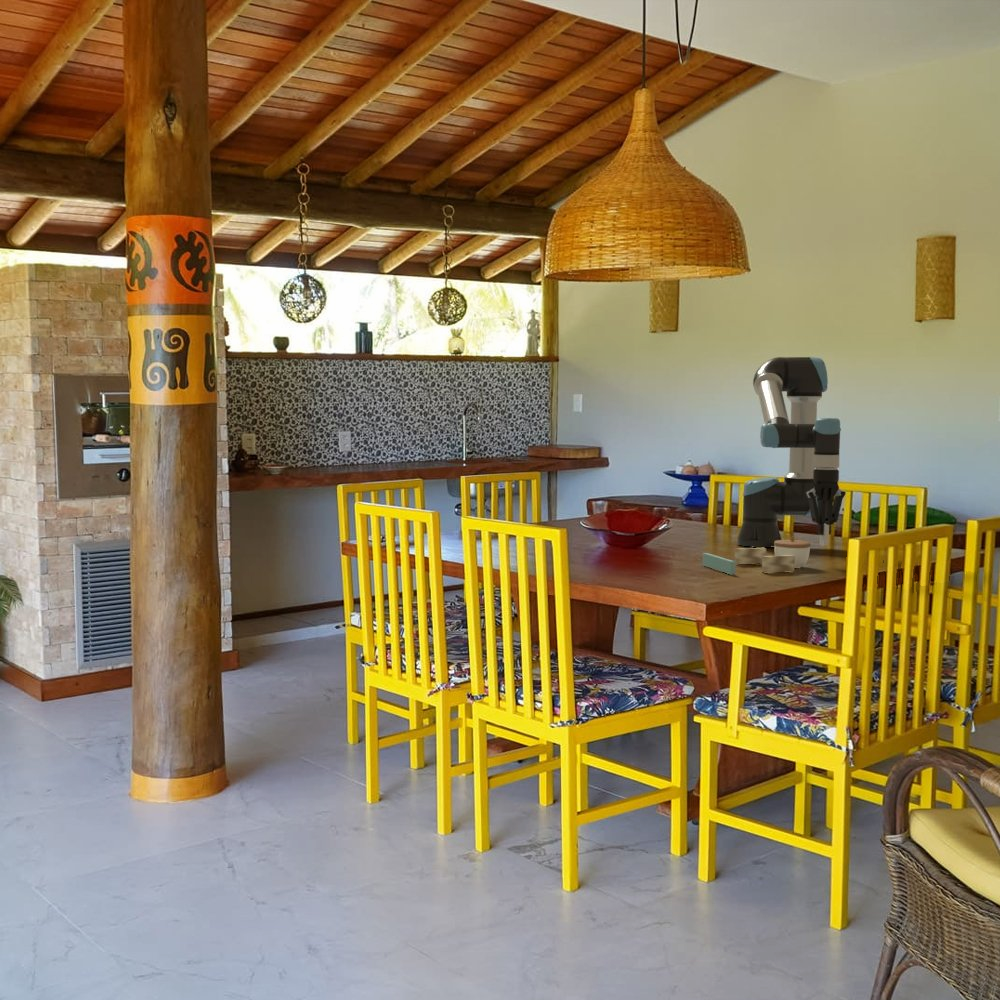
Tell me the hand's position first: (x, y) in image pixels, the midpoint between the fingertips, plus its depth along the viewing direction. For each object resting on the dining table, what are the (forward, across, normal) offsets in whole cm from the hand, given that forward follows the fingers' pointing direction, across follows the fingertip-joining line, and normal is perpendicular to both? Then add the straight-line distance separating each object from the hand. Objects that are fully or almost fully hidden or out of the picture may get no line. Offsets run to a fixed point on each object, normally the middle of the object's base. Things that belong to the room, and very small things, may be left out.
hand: (823, 545), depth 357 cm
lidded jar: (+7, +11, 0) cm, 13 cm away
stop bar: (+7, +36, 0) cm, 36 cm away
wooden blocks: (+6, +20, 0) cm, 21 cm away
